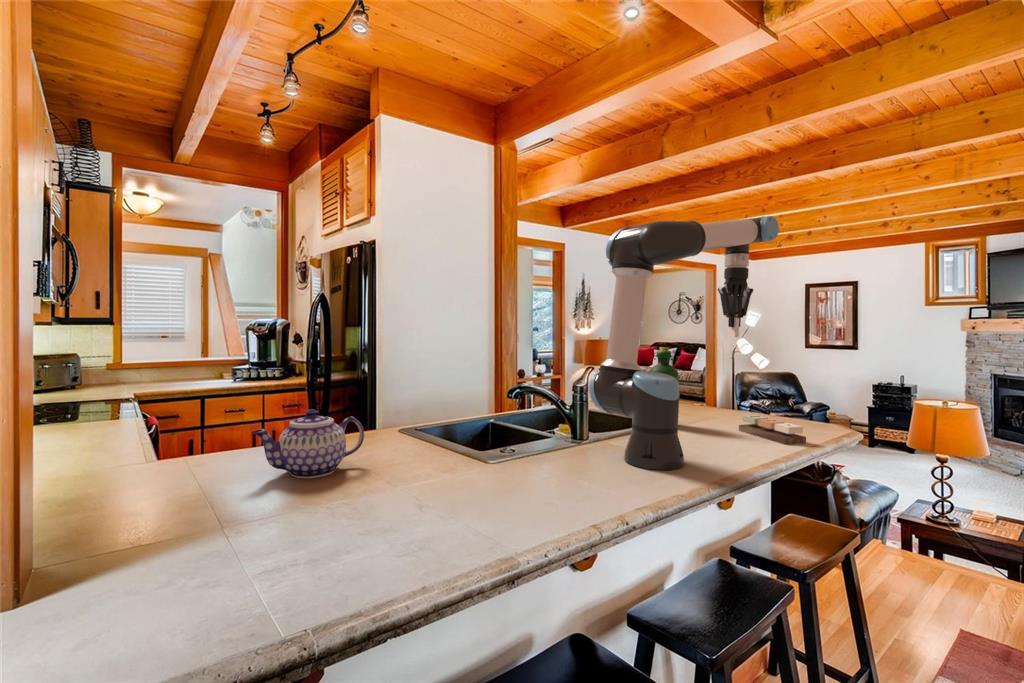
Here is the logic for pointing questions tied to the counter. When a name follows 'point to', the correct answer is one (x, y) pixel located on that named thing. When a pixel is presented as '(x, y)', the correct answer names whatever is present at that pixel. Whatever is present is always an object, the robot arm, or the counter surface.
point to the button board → (772, 434)
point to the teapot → (309, 445)
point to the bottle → (664, 363)
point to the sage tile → (752, 419)
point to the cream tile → (788, 428)
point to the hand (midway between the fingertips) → (733, 336)
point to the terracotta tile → (769, 423)
